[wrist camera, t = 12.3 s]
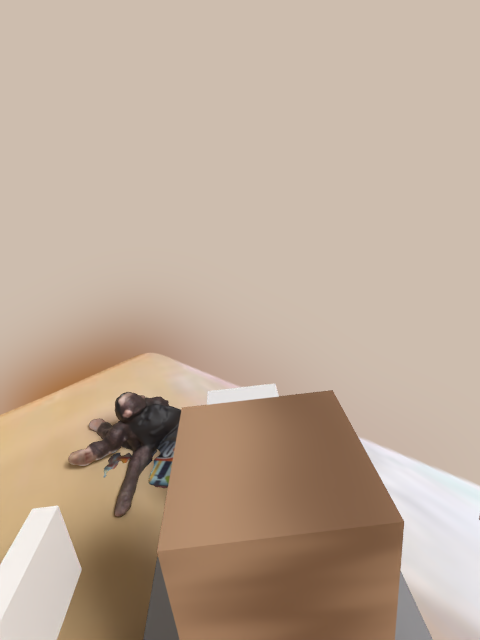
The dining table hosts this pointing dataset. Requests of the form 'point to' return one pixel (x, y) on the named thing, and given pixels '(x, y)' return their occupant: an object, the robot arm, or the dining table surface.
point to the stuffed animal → (135, 442)
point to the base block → (164, 636)
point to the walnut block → (278, 525)
